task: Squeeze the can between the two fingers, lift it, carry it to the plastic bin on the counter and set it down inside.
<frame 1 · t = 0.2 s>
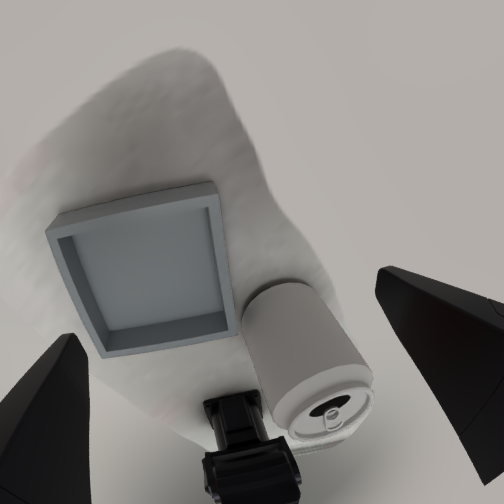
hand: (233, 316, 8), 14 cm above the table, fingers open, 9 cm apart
bin: (148, 268, 22), on the table
can: (279, 310, 28), on the table
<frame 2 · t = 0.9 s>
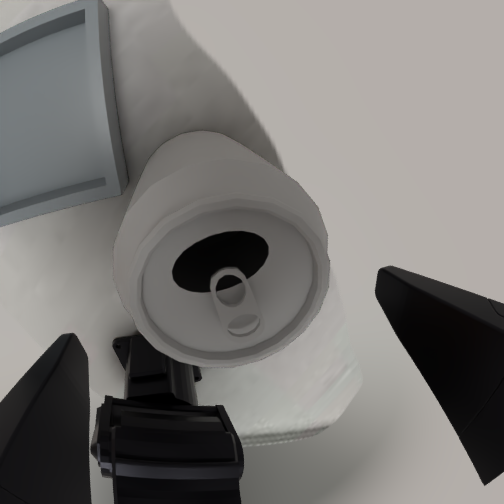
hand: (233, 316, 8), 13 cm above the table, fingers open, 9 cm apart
bin: (32, 117, 14), on the table
can: (198, 187, 19), on the table
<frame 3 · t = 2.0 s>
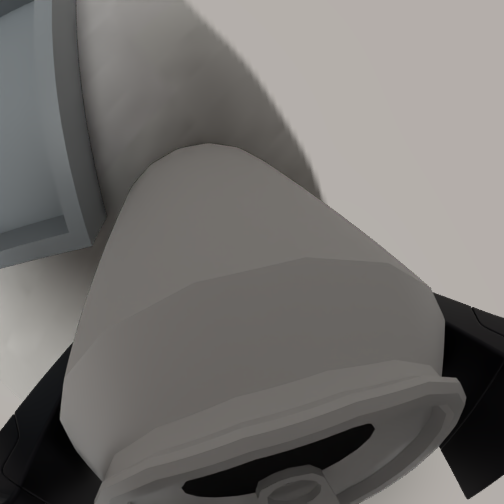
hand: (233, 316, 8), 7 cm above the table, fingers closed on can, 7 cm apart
can: (205, 222, 14), on the table, touching gripper
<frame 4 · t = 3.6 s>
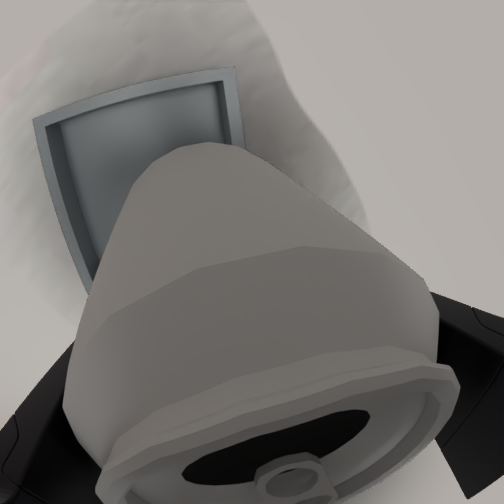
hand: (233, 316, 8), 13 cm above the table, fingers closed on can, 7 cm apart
bin: (150, 176, 18), on the table
can: (205, 220, 14), point 6 cm above the table, touching gripper
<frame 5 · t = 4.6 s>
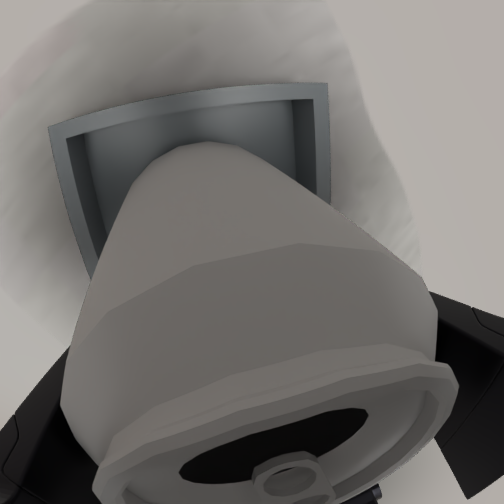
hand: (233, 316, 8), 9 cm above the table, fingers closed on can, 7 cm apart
bin: (200, 206, 16), on the table
can: (204, 219, 14), point 2 cm above the table, touching gripper
when the fingers open (8 cm above the table, at t = 5.3 s): can stays where it is, resting on bin.
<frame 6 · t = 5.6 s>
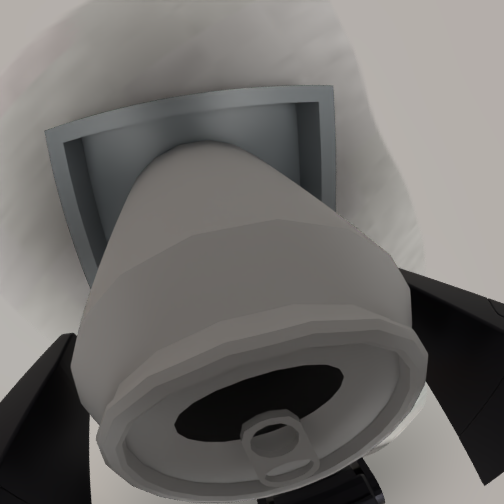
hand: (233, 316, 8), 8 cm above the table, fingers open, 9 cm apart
bin: (202, 211, 15), on the table
can: (203, 214, 15), resting on bin
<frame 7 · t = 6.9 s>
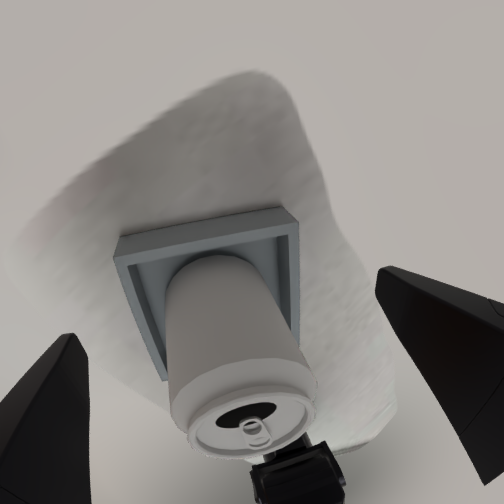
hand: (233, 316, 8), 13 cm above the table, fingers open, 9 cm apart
bin: (213, 290, 23), on the table
can: (214, 292, 23), resting on bin
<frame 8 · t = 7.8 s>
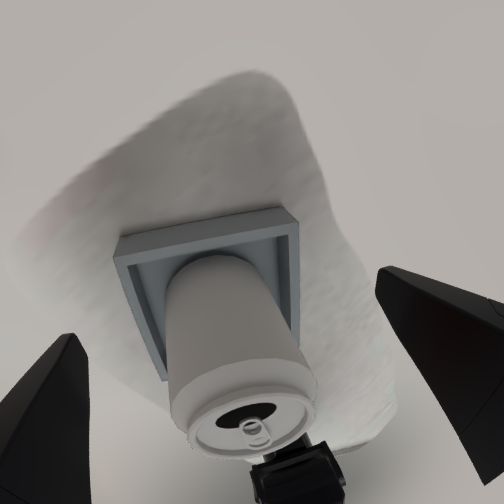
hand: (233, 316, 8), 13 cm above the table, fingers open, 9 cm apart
bin: (213, 290, 23), on the table
can: (214, 292, 23), resting on bin
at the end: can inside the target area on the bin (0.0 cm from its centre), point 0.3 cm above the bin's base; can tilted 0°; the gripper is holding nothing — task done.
